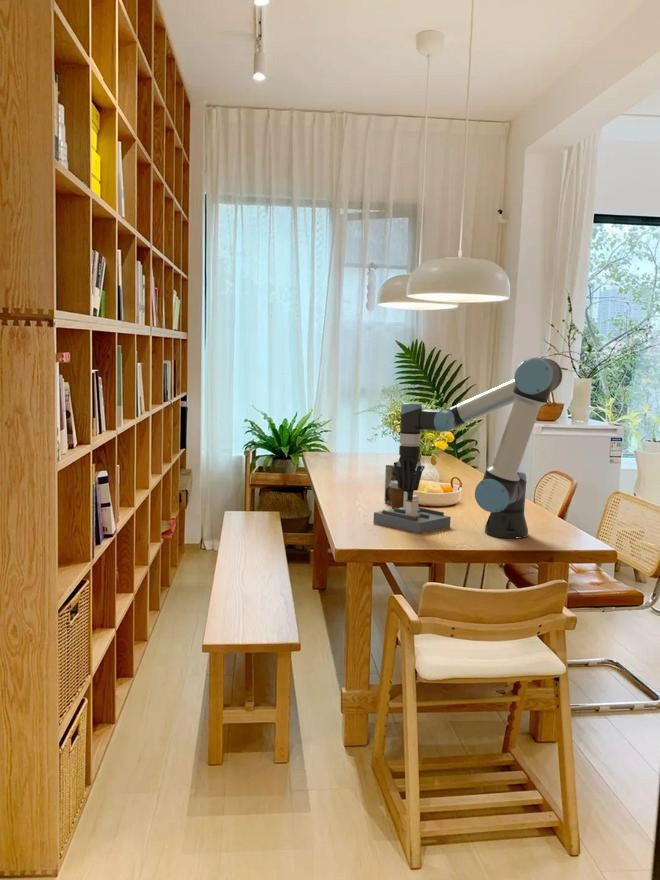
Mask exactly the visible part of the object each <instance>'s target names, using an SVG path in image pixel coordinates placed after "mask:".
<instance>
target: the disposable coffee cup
mask: <svg viewBox="0 0 660 880" xmlns="http://www.w3.org/2000/svg"><path fill="white" fill-rule="evenodd" d="M389 485H390V488H391V501H392V504H391V509H394V508H403V501H404V499H402V493H403V491H402V489H399V488H398V482H397V480H395V481H391V482H390V484H389Z"/></svg>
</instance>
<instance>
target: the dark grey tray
mask: <svg viewBox="0 0 660 880" xmlns="http://www.w3.org/2000/svg"><path fill="white" fill-rule="evenodd" d="M419 498H420V497H419V495H415V494H413V500H417V501H418V502H419V500H420V499H419ZM405 513H406V509H403V508H394V509H392V508H391V509H387V510H386V509H382V510H380V511H375V512H374V511H373V522H372V523H373V524H376V525H377V524H378V525H381V526H386V527H390V528H394V529H398V530H401V529H402V531H407V532H410V531H411V533H414V532H415V534H420V533H421V534H425V532H426V533H430V532H435V531H438V530H444V529H449V528H451V516H448V515H444V514H445V512H443V511H439V510H436V509H435V510H434V509H429V508H425V507H421V506H418V515H420V517H414V516H410V515H405ZM434 530H435V531H434Z"/></svg>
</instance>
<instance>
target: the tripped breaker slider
mask: <svg viewBox="0 0 660 880" xmlns="http://www.w3.org/2000/svg"><path fill="white" fill-rule="evenodd" d="M418 507H419V501H417V500H411V501H409V500H408V501H406V513H405V515H410V516H414V517H420V515H418Z"/></svg>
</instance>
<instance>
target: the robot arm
mask: <svg viewBox="0 0 660 880" xmlns="http://www.w3.org/2000/svg"><path fill="white" fill-rule="evenodd" d="M562 381H563V370H562V368H561V366H560V364H559V363H558V362H556V361H555V360H553V359H551V358H543V357H542V358H541V357H531V358H528V359H525V360H523V361H522V362H520V363H519V365H518V366H517V368H516V369H515V372H514V378H513V379H511V380H509V381H507V382H505V383H502V384H500V385H498V386H496V387H493V388H491V389H489V390H487V391H485V392H482V393H480V394H478V395H476V396H474V397H470V398H469V399H467V400H464V401H462V402H460V403H458V404H456V405H453V406H450V407H448V408H441V409H425V408H423V404H422V403H420V402H403V403H402V404H401V407H400V408H401V409H400V415H399V416H400V430H399V444H400V445H399V448H398V450H399V451H398V455H399V459H398V461H395V462H394V463H393V465H394V466H395V469H396V475H397V482H398V488H399V489H402V491H403V493H402V499H404V501H403V509H406V501H408V500H409V501H411V500H413V495H414V492H415V491H418V490H419V486H420V482H421V478H422V473H423V471H424V470H425V468H426V467H425V465H422V464H421V463H420V455H421V447H420V445H421V434H422V433H421V431H422V430H423V431H424V430H425V431H433V432H441V433H442V432H443V433H444V432H451V431H452V430H454V429H458V428H461V426H463V425H464V424H466V423H469V422H472V421H473V420H476V419H478V418H481V417H483V416H485V415H488V414H490V413H493V412H495V411H497V410H500V409H502V408H504V407H507V406H509V405H511V404H512V407H511V410H510V413H509V416H508V418H507V422H506V425H505V428H504V430H503V434H502V437H501V439H500V441H499V445H498V448H497V451H496V453H495V457H494V459H493V462H492V464H491V465H489V466H487V467H486V469H485V472H484V475H483V477H482V480H480V481H479V483H478V484H477V485H476V487H475V489H474V498H475V501H476V503H477V505H478V506H479V507H480V508H481V509H482V510H484V511H485V512H488V513H490V514H489V516H488V519H487V520H486V523H485V526H484V533H485V534H486V533H487V535H488V534H489V536H491V535H493V536H492V537H495V536H497V537H496V538H501V537H505V538H504V539H517V538H516V537H524V536H527V535H528V536H529V529H528V524H527V520H526V517H525V505H526V490H527V489H526V488H527V474H526V473H525V472H521V471H519V469H520V466H521V463H522V461H523V458H524V454H525V452H526V449H527V446H528V443H529V440H530V437H531V435H532V431H533V428H534V425H535V423H536V420H537V417H538V414H539V412H540V409H541V407H542V406H544V405H547V404H548V401H549V397H550V394H551V392H553V391H555V390H556V389H557V388H559V386H560V385H561V383H562ZM528 536H527V537H528Z"/></svg>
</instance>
